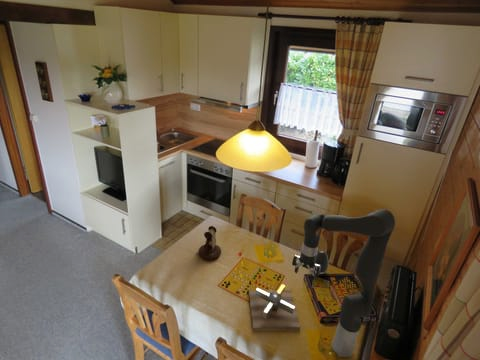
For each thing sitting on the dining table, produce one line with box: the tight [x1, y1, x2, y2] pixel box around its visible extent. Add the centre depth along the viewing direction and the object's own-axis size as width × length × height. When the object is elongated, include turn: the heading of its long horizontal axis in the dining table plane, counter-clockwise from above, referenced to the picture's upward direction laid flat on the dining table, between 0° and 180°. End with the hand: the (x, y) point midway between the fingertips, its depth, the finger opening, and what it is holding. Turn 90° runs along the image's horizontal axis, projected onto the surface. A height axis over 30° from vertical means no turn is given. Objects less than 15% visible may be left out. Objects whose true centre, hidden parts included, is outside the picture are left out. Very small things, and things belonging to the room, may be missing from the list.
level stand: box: [248, 289, 302, 331], centre depth 164 cm, size 24×24×2 cm
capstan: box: [255, 284, 296, 318], centre depth 161 cm, size 22×22×8 cm
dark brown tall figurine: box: [198, 225, 222, 261], centre depth 197 cm, size 15×15×20 cm
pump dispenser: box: [314, 250, 330, 275], centre depth 190 cm, size 10×10×15 cm
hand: (304, 275), depth 158 cm, fingers open, 8 cm apart
